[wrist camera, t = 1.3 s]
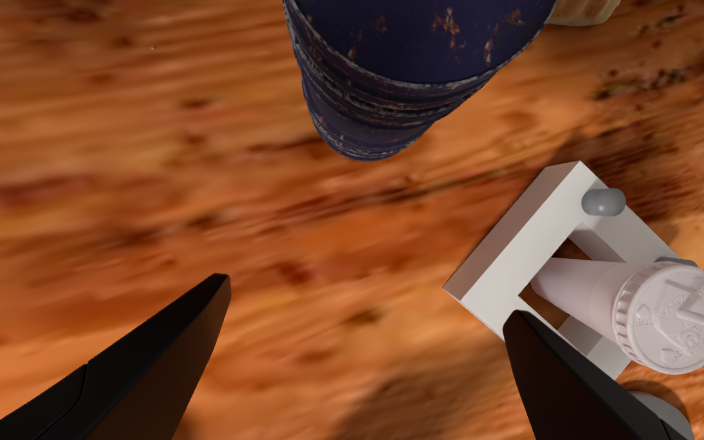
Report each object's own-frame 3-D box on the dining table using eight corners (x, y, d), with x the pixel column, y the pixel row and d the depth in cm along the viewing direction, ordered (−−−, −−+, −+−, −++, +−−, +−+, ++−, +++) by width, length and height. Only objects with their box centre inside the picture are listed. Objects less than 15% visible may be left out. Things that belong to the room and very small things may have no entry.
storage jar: (421, 39, 24) (569, -240, 9) (430, 157, 24) (584, 80, 9) (301, 46, 23) (246, -243, 8) (313, 167, 24) (281, 100, 9)
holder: (553, 384, 26) (605, 426, 21) (442, 287, 25) (469, 308, 20) (651, 268, 26) (727, 282, 21) (545, 167, 25) (598, 156, 20)
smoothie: (567, 230, 25) (851, 258, 12) (593, 293, 26) (898, 394, 12) (504, 261, 25) (717, 330, 11) (532, 325, 26) (770, 466, 12)
